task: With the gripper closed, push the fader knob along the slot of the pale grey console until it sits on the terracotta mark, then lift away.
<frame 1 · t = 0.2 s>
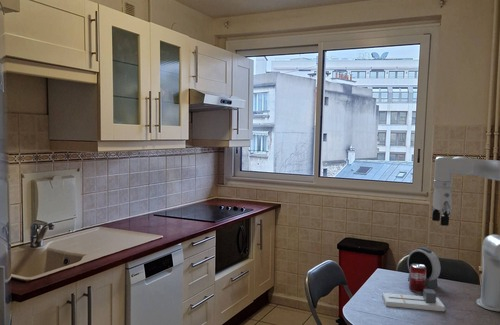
hand: (440, 223, 184), 36 cm above the table, tool pointing down, fingers open, 9 cm apart
soda can: (417, 290, 199), on the table
alarm clock: (422, 283, 209), on the table
console: (412, 303, 182), on the table
fader knob: (429, 295, 181), point 4 cm above the table, slide at -7.0 cm
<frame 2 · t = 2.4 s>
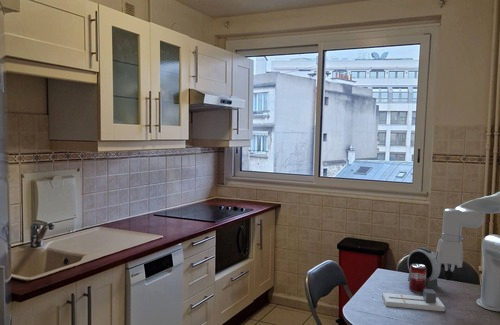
hand: (447, 279, 179), 12 cm above the table, tool pointing down, fingers closed
nothing on the table moved.
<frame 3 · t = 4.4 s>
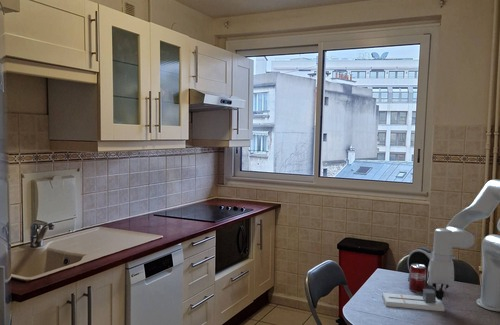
hand: (439, 298, 180), 3 cm above the table, tool pointing down, fingers closed
fader knob: (429, 295, 181), point 4 cm above the table, slide at -6.8 cm, touching gripper
everything else where it was.
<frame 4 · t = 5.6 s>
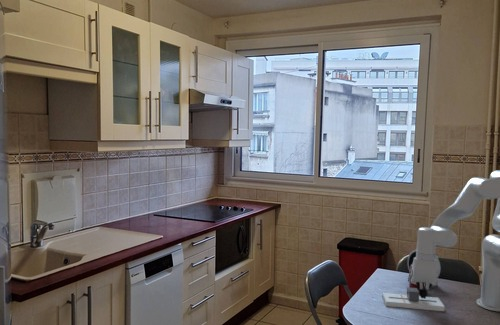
hand: (422, 297, 181), 3 cm above the table, tool pointing down, fingers closed
fader knob: (412, 294, 182), point 4 cm above the table, slide at 0.0 cm, touching gripper
everything else where it was.
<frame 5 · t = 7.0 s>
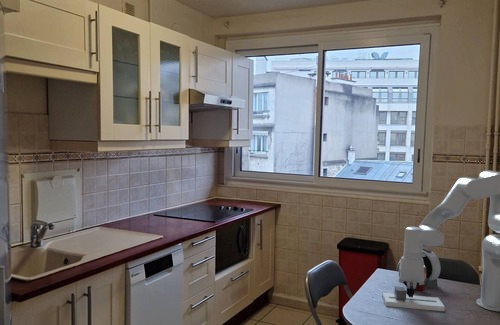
hand: (410, 296, 182), 3 cm above the table, tool pointing down, fingers closed
fader knob: (400, 293, 183), point 4 cm above the table, slide at 5.2 cm, touching gripper
everything else where it was.
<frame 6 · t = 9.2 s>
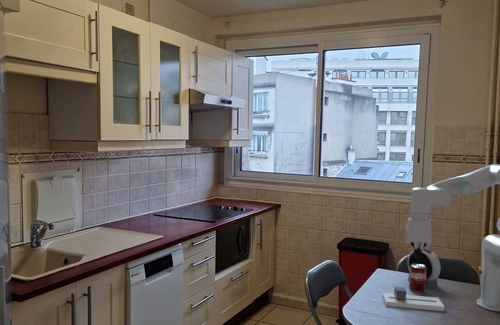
hand: (417, 257, 181), 21 cm above the table, tool pointing down, fingers closed
fader knob: (400, 293, 183), point 4 cm above the table, slide at 5.3 cm
everything else where it was.
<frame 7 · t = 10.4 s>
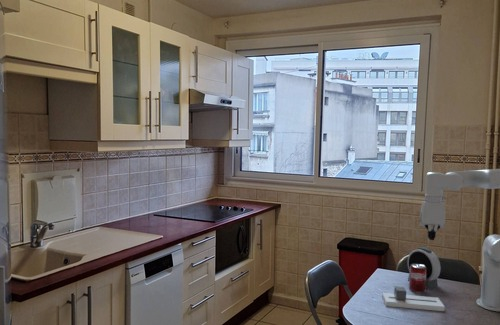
hand: (431, 239, 189), 27 cm above the table, tool pointing down, fingers closed
nothing on the table moved.
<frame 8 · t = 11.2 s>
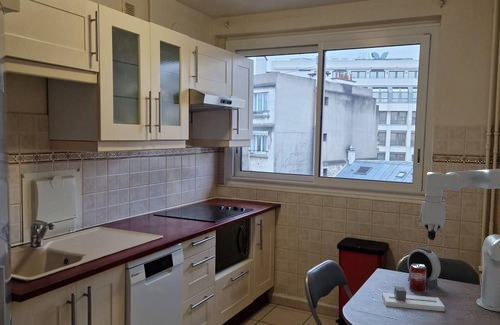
hand: (431, 239, 189), 27 cm above the table, tool pointing down, fingers closed
nothing on the table moved.
at the end: fader knob slide at 5.3 cm; soda can moved 0.2 cm from its start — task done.
